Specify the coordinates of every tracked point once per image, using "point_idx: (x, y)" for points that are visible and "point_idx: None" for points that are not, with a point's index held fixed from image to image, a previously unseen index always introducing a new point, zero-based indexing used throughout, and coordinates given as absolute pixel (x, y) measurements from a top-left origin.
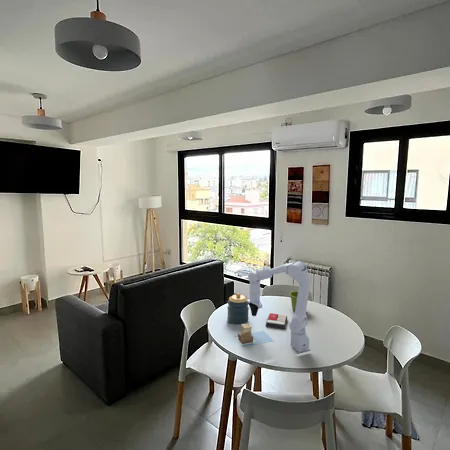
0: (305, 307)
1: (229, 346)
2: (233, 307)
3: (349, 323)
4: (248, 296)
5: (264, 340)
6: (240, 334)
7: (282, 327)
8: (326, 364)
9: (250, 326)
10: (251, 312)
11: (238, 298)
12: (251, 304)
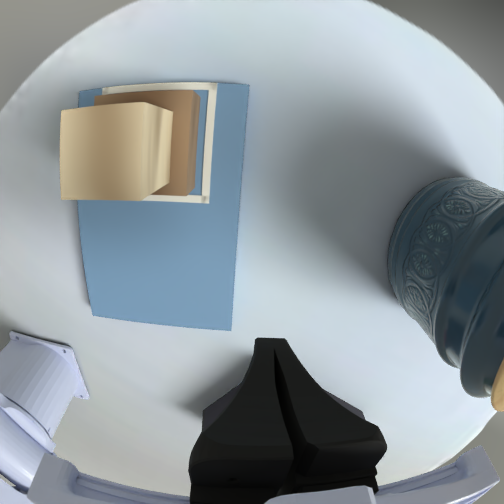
0: None
1: (151, 17)
2: None
3: None
4: (481, 483)
5: (106, 267)
6: (157, 99)
7: (208, 420)
8: None
9: (66, 192)
10: (291, 358)
11: None
12: (271, 470)
